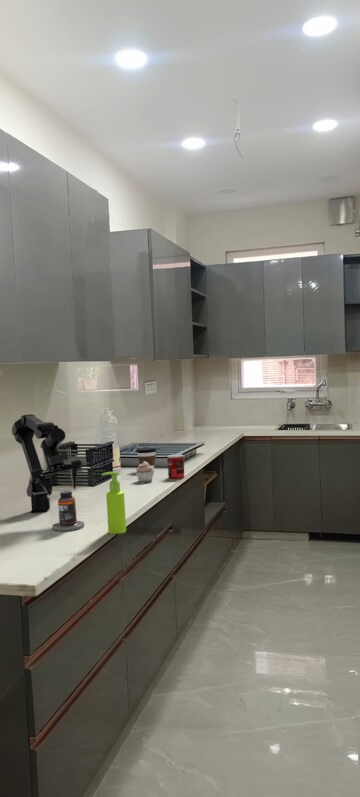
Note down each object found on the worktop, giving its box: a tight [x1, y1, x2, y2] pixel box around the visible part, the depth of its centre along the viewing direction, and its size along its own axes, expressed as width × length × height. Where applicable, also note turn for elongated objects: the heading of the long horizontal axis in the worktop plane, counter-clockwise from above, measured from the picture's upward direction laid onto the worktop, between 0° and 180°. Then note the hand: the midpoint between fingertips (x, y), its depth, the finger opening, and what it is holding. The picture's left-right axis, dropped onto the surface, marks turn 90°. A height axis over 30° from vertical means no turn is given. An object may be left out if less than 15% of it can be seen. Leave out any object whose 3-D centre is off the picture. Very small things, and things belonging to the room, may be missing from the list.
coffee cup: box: [135, 446, 157, 471], centre depth 325 cm, size 11×11×12 cm
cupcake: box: [134, 461, 155, 483], centre depth 295 cm, size 9×9×10 cm
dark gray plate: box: [51, 520, 85, 533], centre depth 213 cm, size 11×11×1 cm
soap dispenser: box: [101, 471, 127, 535], centre depth 203 cm, size 6×7×20 cm
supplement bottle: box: [57, 490, 78, 526], centre depth 213 cm, size 6×6×11 cm
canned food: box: [166, 453, 185, 480], centre depth 300 cm, size 8×8×11 cm
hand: (62, 492), depth 222 cm, fingers open, 9 cm apart
